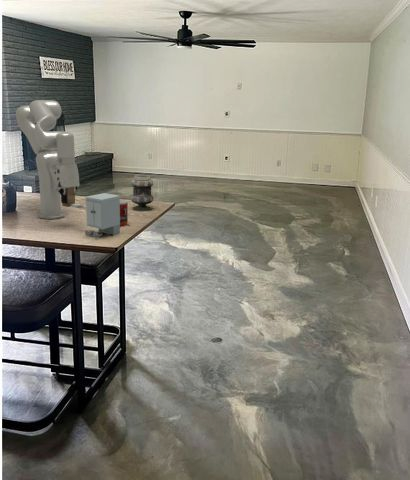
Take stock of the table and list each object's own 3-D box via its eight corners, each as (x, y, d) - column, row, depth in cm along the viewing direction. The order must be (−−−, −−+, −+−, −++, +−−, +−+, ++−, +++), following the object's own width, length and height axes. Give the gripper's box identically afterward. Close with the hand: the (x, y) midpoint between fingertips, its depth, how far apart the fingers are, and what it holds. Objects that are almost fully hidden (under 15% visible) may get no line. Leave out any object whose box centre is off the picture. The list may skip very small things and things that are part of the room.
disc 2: (90, 236, 209) (90, 233, 209) (97, 234, 212) (97, 231, 212) (97, 238, 207) (97, 234, 207) (104, 236, 210) (104, 233, 210)
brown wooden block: (62, 205, 219) (60, 183, 217) (68, 204, 223) (67, 182, 220) (88, 210, 211) (87, 187, 209) (94, 209, 215) (93, 186, 212)
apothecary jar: (154, 206, 268) (154, 174, 263) (152, 211, 257) (152, 178, 252) (132, 206, 268) (132, 173, 263) (129, 211, 256) (129, 177, 251)
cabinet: (85, 235, 210) (84, 197, 205) (105, 229, 220) (104, 192, 215) (101, 239, 206) (100, 200, 201) (120, 232, 216) (119, 195, 211)
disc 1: (83, 235, 211) (83, 231, 211) (89, 233, 214) (89, 229, 214) (90, 236, 209) (90, 233, 209) (96, 234, 212) (96, 231, 212)
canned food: (120, 227, 225) (120, 204, 222) (107, 224, 229) (107, 201, 226) (131, 224, 231) (131, 201, 228) (118, 221, 235) (118, 198, 232)
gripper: (57, 163, 206) (59, 206, 211) (86, 160, 220) (87, 200, 225) (45, 162, 210) (47, 204, 215) (74, 159, 224) (76, 198, 228)
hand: (68, 201), depth 220 cm, fingers closed on brown wooden block, 4 cm apart
